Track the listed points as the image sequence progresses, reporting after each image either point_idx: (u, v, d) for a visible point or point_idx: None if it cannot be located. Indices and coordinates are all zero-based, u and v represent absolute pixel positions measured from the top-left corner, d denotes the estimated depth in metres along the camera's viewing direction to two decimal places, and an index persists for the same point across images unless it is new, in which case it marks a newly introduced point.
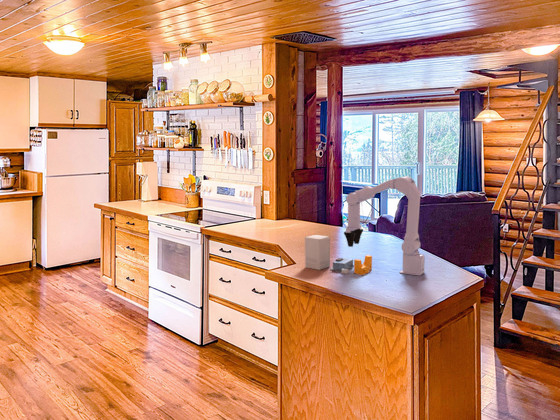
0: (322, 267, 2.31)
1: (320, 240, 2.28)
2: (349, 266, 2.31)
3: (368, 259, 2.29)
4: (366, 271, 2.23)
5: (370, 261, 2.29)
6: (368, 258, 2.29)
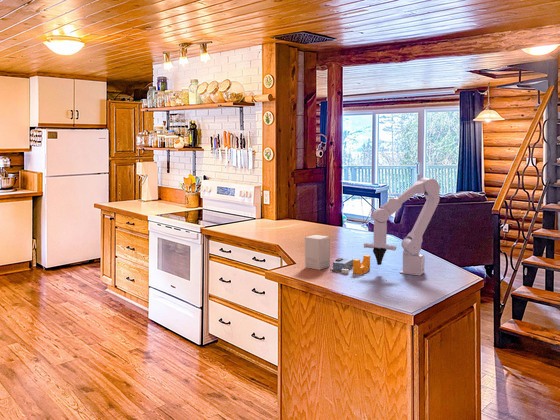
0: (322, 267, 2.31)
1: (320, 240, 2.28)
2: (349, 266, 2.31)
3: (366, 259, 2.29)
4: (365, 271, 2.23)
5: (368, 261, 2.29)
6: (366, 258, 2.29)
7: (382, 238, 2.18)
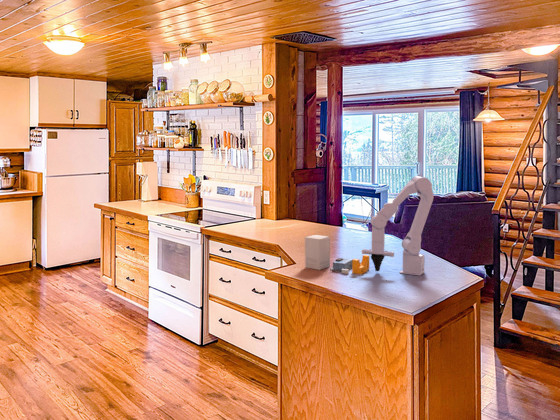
0: (322, 267, 2.31)
1: (320, 240, 2.28)
2: (349, 266, 2.31)
3: (366, 259, 2.29)
4: (364, 271, 2.24)
5: (368, 261, 2.30)
6: (366, 258, 2.29)
7: (380, 244, 2.18)
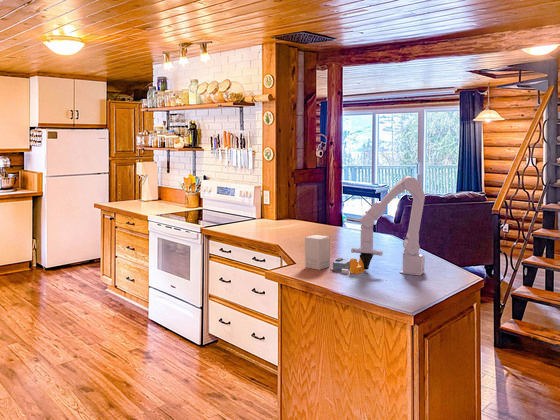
0: (322, 267, 2.31)
1: (320, 240, 2.28)
2: (349, 266, 2.31)
3: None
4: (362, 270, 2.24)
5: None
6: None
7: (368, 243, 2.21)
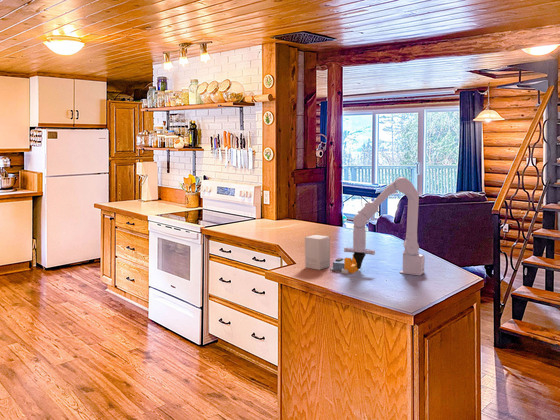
0: (322, 267, 2.31)
1: (320, 240, 2.28)
2: None
3: None
4: (356, 269, 2.26)
5: None
6: None
7: (361, 243, 2.23)
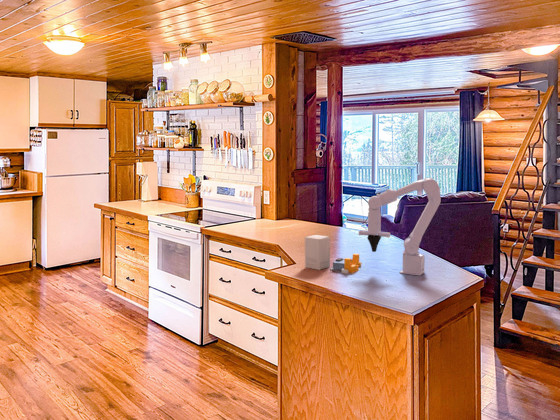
0: (322, 267, 2.31)
1: (320, 240, 2.28)
2: None
3: (356, 257, 2.32)
4: (356, 269, 2.26)
5: (358, 259, 2.33)
6: (356, 256, 2.32)
7: (376, 225, 2.21)
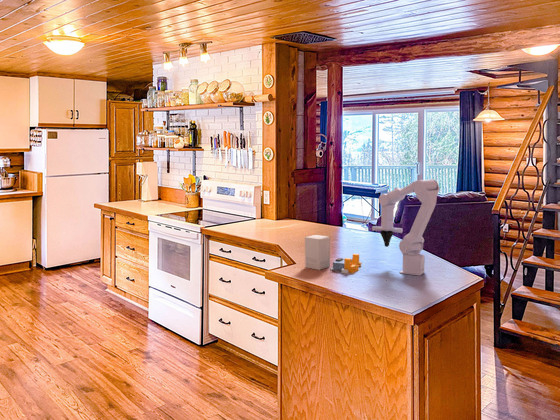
0: (322, 267, 2.31)
1: (320, 240, 2.28)
2: None
3: (356, 257, 2.32)
4: (356, 269, 2.26)
5: (358, 259, 2.33)
6: (356, 256, 2.32)
7: (389, 221, 2.31)
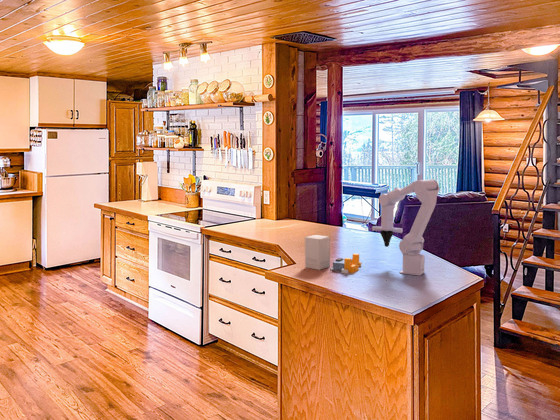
0: (322, 267, 2.31)
1: (320, 240, 2.28)
2: None
3: (356, 257, 2.32)
4: (356, 269, 2.26)
5: (358, 259, 2.33)
6: (356, 256, 2.32)
7: (389, 221, 2.31)
